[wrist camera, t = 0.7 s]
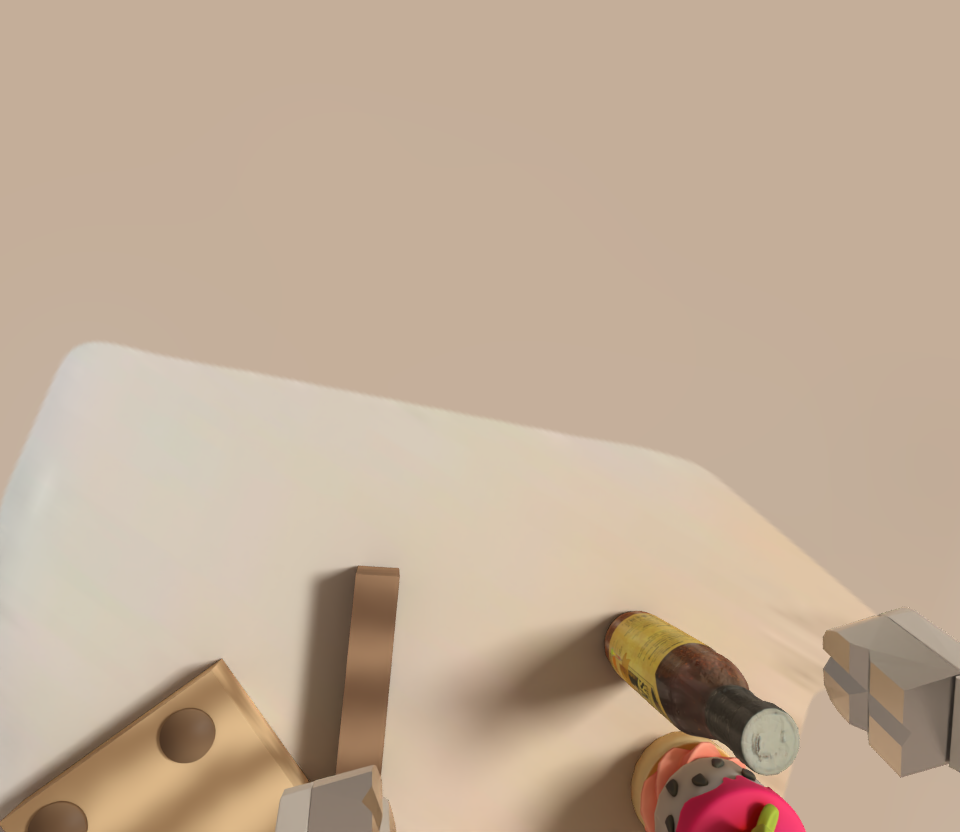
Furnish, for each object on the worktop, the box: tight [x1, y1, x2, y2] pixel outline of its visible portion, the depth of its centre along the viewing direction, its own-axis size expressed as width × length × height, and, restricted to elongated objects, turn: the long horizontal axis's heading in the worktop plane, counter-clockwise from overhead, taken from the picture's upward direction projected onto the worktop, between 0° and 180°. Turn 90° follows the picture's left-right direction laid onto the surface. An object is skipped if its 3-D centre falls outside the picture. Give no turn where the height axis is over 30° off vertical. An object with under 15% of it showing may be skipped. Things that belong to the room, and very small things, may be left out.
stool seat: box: [0, 659, 310, 832], centre depth 49 cm, size 16×18×3 cm
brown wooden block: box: [336, 566, 400, 777], centre depth 50 cm, size 20×4×5 cm, turn 175°
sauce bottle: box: [605, 611, 800, 776], centre depth 47 cm, size 7×6×20 cm
